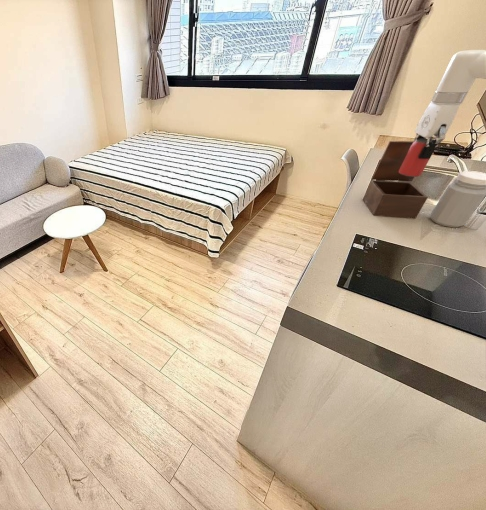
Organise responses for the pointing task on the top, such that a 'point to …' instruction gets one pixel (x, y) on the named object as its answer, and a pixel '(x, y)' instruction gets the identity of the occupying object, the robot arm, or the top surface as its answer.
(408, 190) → the storage box
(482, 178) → the jar
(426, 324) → the top surface
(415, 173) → the beer can
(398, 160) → the box lid
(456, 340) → the top surface
